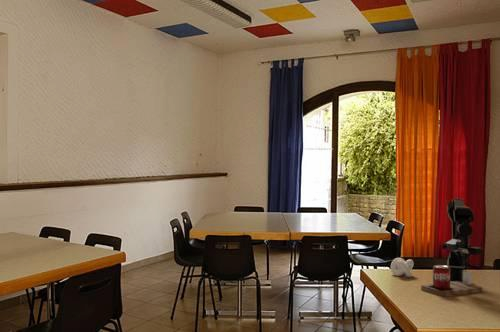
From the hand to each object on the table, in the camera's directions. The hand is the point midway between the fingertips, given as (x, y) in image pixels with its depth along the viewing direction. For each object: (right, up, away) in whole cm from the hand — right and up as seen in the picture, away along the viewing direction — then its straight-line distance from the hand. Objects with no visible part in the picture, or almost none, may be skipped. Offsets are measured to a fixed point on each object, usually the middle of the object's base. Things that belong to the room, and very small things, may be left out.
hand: (462, 266), depth 206 cm
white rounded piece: (-19, -11, +27) cm, 35 cm away
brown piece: (-6, -11, -3) cm, 13 cm away
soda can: (-12, -11, -6) cm, 18 cm away
